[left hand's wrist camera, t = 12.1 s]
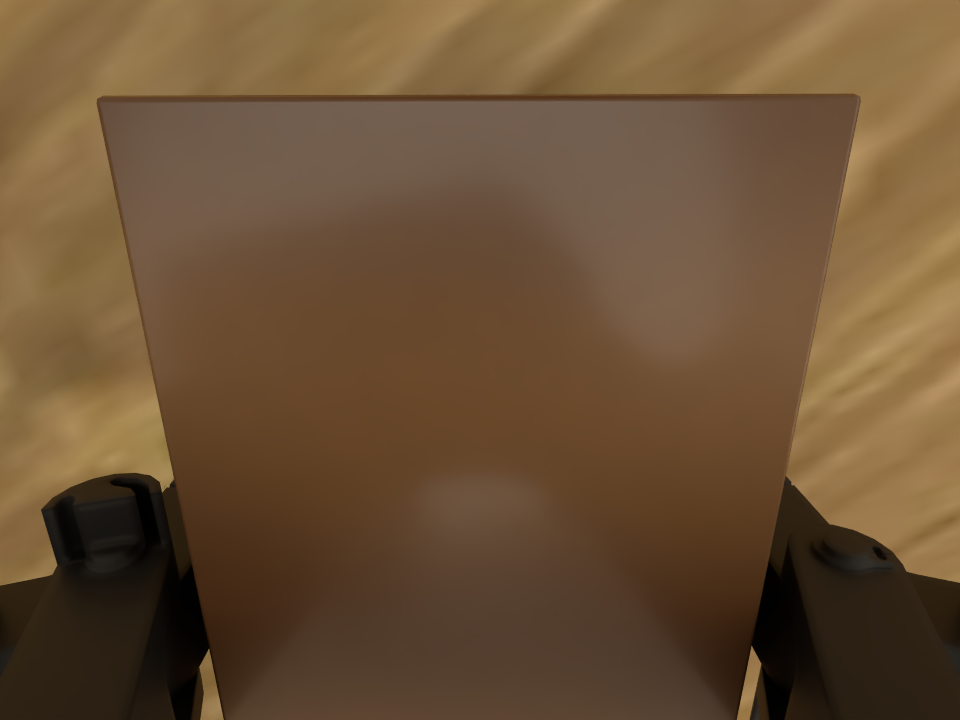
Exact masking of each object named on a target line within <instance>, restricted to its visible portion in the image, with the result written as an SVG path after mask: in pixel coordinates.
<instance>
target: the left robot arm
mask: <svg viewBox="0 0 960 720" xmlns="http://www.w3.org/2000/svg"><path fill="white" fill-rule="evenodd" d="M41 511H42V514H43V518H44V521H45V525H46V528H47V531H48V535H49V538H50V541H51V545H52V548H53V551H54V555H55V558H56V561H57V567H56V569H55V571H54V573H53V575H50V576H46V577H42V578H37V579H32V580H27V581H22V582H17V583H12V584H7V585H2V586H0V720H200V717H201V710H202V702H203V694H204V691H203V684H202V678H201V673H200V669H199V666H200V664H201V663H202V661H203V659H204V657H205V655H206V653H207V651H208V649H209V645H208V640H207V635H206V630H205V625H204V620H203V616H202V611H201V606H200V601H199V596H198V591H197V586H196V582H195V577H194V572H193V567H192V562H191V557H190V553H189V548H188V543H187V538H186V533H185V528H184V523H183V519H182V514H181V509H180V504H179V499H178V494H177V490H176V485H175V480H173V481H172V482H171V484H170V488H166V489H165V490H164V491H163V493H162V491H161V486H160V482H159V481H157V480H156V479H155V478H153V477H152V476H150V475H144V474H138V473H124V474H113V475H108V476H104V477H99V478H95V479H91V480H88V481H86V482H83V483H81V484H78V485H75V486H73V487H70V488H69V489H67V490H65V491H64V492H62V493H60V494H58V495H57V496H55V497H53V498H52V499H51V500H50V501H49V502H48V503H47V504H46V505H45V506H44V507H43V508H42V509H41ZM752 647H753V649H754V651H755V653H756V654H757V656H758V658H759V660H760V662H761V669H760V673H759V678H758V683H757V687H756V692H755V697H754V701H753V706H752V711H751V715H750V720H960V583H957V582H952V581H947V580H942V579H937V578H932V577H927V576H922V575H917V574H913V573H909V572H906V570H905V568H904V566H903V564H902V563H901V562H900V561H899V559H898V558H897V557H896V556H895V554H894V553H893V552H892V551H891V550H889V549H888V548H886V547H885V546H884V545H882V544H881V543H879V542H878V541H876V540H875V539H873V538H870V537H868V536H866V535H864V534H861V533H859V532H857V531H855V530H851V529H847V528H843V527H839V526H836V525H829V524H828V522H827V521H826V520H825V519H824V518H823V517H822V516H821V515H820V514H819V512H818V511H817V510H816V509H815V508H814V507H813V506H812V505H811V504H810V502H809V501H808V500H807V499H806V498H805V497H804V496H803V495H802V494H801V492H800V491H799V490H798V489H797V488H796V487H795V486H792V485H791V481H790V480H789V479H788V478H787V477H786V476H785V481H784V486H783V491H782V496H781V501H780V506H779V511H778V516H777V521H776V526H775V531H774V536H773V541H772V546H771V551H770V556H769V561H768V566H767V571H766V576H765V581H764V586H763V591H762V596H761V601H760V606H759V611H758V616H757V621H756V626H755V631H754V636H753V640H752Z"/></svg>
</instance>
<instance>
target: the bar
mask: <svg viewBox="0 0 960 720" xmlns="http://www.w3.org/2000/svg"><path fill="white" fill-rule="evenodd" d="M860 102H861V101H860V97H859V96H858V95H855V94H603V95H237V96H102V97H100V98H98V99H97V107H98V112H99V116H100V121H101V126H102V131H103V136H104V141H105V145H106V150H107V155H108V160H109V165H110V170H111V175H112V179H113V184H114V189H115V194H116V199H117V204H118V208H119V213H120V218H121V223H122V228H123V233H124V238H125V242H126V247H127V252H128V257H129V262H130V267H131V271H132V276H133V281H134V286H135V291H136V296H137V301H138V305H139V310H140V315H141V320H142V325H143V330H144V334H145V339H146V344H147V349H148V354H149V359H150V364H151V368H152V373H153V378H154V383H155V388H156V393H157V397H158V402H159V407H160V412H161V417H162V422H163V427H164V431H165V436H166V441H167V446H168V451H169V456H170V460H171V465H172V470H173V475H174V480H175V485H176V490H177V494H178V499H179V504H180V509H181V514H182V519H183V523H184V528H185V533H186V538H187V543H188V548H189V553H190V557H191V562H192V567H193V572H194V577H195V582H196V586H197V591H198V596H199V601H200V606H201V611H202V616H203V620H204V625H205V630H206V635H207V640H208V645H209V649H210V654H211V659H212V664H213V669H214V674H215V678H216V683H217V688H218V693H219V698H220V703H221V708H222V712H223V717H224V720H737V715H738V710H739V705H740V700H741V695H742V690H743V685H744V680H745V675H746V670H747V665H748V660H749V655H750V650H751V645H752V640H753V636H754V631H755V626H756V621H757V616H758V611H759V606H760V601H761V596H762V591H763V586H764V581H765V576H766V571H767V566H768V561H769V556H770V551H771V546H772V541H773V536H774V531H775V526H776V521H777V516H778V511H779V506H780V501H781V496H782V491H783V486H784V481H785V476H786V471H787V466H788V461H789V456H790V451H791V446H792V441H793V436H794V431H795V426H796V421H797V416H798V411H799V406H800V401H801V396H802V391H803V386H804V381H805V376H806V371H807V366H808V361H809V356H810V351H811V346H812V341H813V336H814V331H815V326H816V321H817V316H818V311H819V306H820V301H821V296H822V291H823V286H824V281H825V276H826V271H827V266H828V261H829V256H830V251H831V246H832V241H833V236H834V231H835V226H836V221H837V216H838V211H839V206H840V201H841V196H842V191H843V186H844V181H845V176H846V171H847V166H848V161H849V156H850V151H851V146H852V141H853V136H854V131H855V126H856V122H857V117H858V112H859V107H860Z"/></svg>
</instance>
